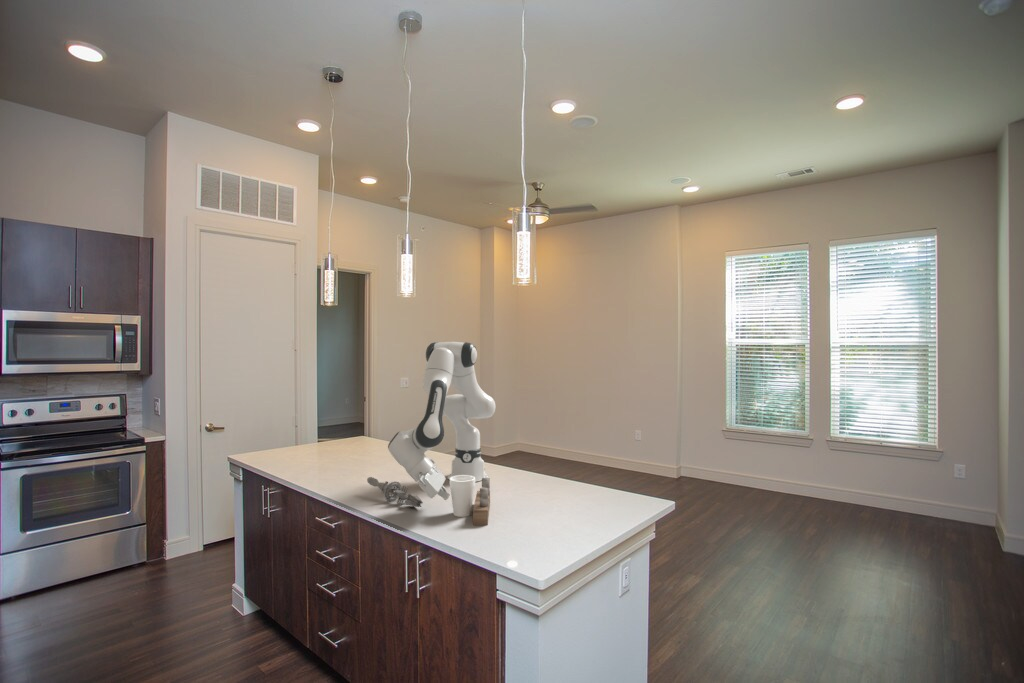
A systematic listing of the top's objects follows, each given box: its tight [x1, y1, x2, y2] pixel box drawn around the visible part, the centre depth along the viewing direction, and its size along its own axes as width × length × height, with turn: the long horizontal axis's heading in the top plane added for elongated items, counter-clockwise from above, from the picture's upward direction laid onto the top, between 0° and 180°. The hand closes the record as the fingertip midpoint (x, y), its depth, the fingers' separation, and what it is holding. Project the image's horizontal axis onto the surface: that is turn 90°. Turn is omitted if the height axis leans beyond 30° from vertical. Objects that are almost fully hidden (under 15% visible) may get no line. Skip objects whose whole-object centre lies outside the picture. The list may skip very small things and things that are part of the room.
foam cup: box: [449, 475, 476, 518], centre depth 186 cm, size 10×9×13 cm
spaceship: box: [366, 476, 423, 508], centre depth 202 cm, size 8×35×8 cm
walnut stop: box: [472, 477, 491, 526], centre depth 187 cm, size 24×5×11 cm, turn 1°
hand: (447, 497), depth 186 cm, fingers closed, pressing on foam cup
